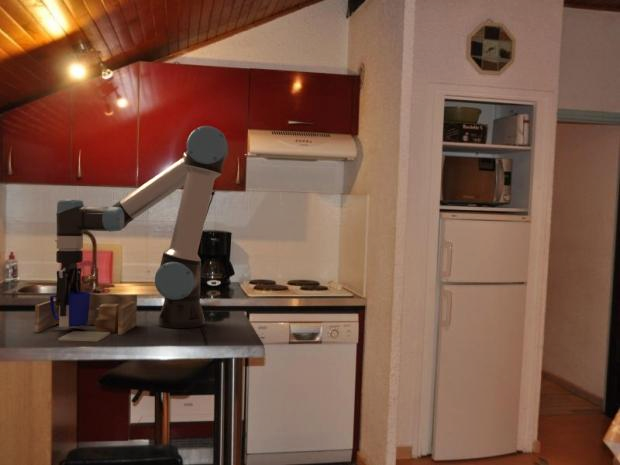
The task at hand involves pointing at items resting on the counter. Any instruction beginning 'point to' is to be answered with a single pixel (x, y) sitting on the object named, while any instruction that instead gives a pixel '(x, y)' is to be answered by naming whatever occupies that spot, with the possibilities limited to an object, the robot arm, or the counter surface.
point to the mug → (75, 308)
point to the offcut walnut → (106, 325)
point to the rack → (92, 311)
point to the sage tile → (84, 336)
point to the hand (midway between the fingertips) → (69, 324)
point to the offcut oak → (108, 311)
